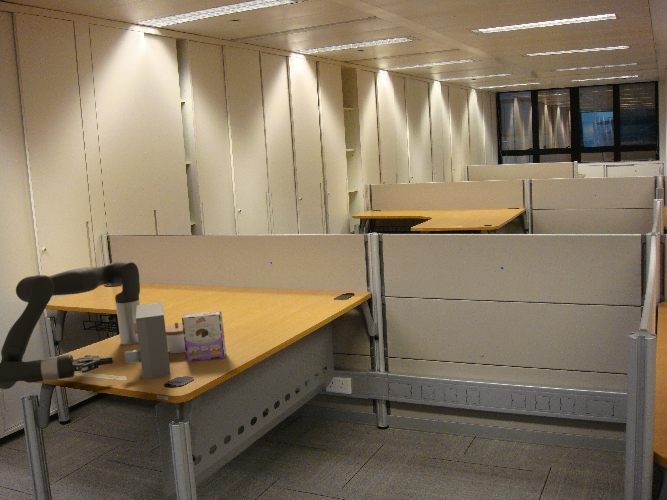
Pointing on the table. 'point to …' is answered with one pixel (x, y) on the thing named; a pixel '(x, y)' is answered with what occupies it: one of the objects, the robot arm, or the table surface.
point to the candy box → (204, 336)
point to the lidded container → (175, 338)
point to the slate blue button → (132, 356)
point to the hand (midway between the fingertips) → (112, 359)
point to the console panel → (152, 340)
